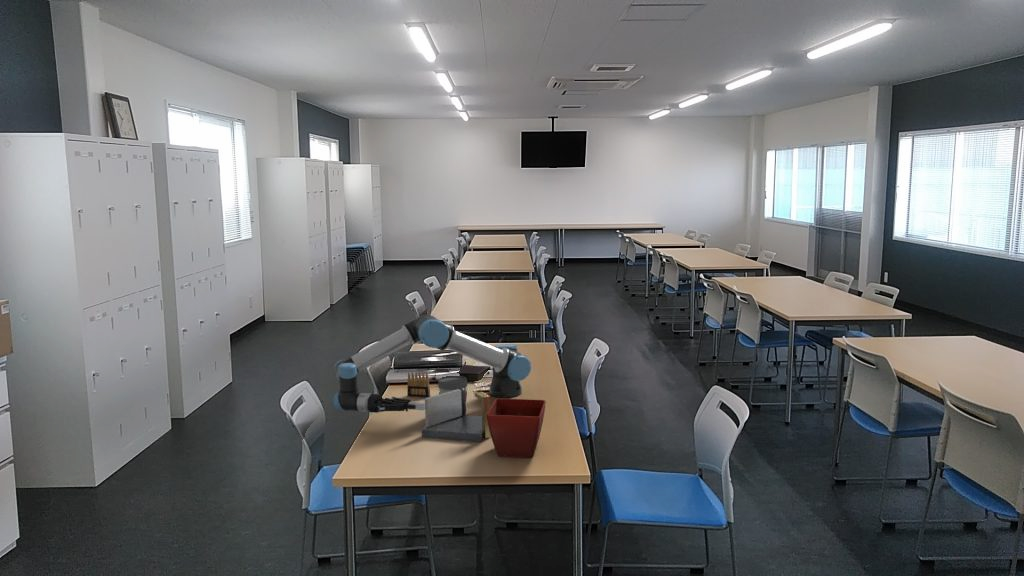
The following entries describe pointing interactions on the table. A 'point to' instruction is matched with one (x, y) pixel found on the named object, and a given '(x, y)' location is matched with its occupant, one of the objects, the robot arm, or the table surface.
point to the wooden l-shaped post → (484, 412)
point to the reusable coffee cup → (452, 383)
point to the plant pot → (516, 426)
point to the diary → (470, 372)
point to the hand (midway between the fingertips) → (423, 406)
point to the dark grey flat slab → (457, 429)
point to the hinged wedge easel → (445, 406)
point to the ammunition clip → (418, 385)
